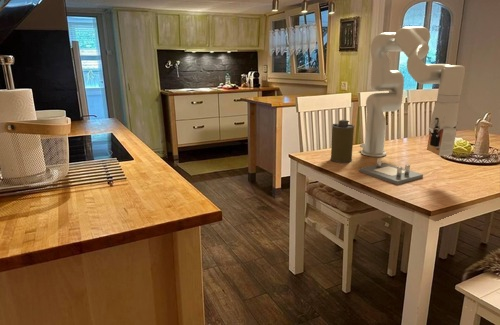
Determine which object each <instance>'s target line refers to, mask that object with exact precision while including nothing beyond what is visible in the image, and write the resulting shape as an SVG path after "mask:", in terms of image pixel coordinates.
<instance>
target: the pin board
mask: <svg viewBox="0 0 500 325" xmlns="http://www.w3.org/2000/svg"><path fill="white" fill-rule="evenodd" d="M397 167H398V166H397V165H393V164H391V163H387V162H381V168H377V163H376V164H372V165H369V166H368V165H367V166H364V167H359V169H358V172H359V173H363V174H365V175H367V176H371V177H373V178H376V179H379V180H382V181H385V182H387V183H390V184H394V185H396V186H398V185H401V184H405V183H409V182H412V181H416V180H420V179H423V178H424V174H423V173H420V172H416V171H413V170H410V171H409V175H405V174H404V173H405V168H403V167H402V173H401V177H397V176H396V175H397Z"/></svg>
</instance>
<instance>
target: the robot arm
mask: <svg viewBox="0 0 500 325" xmlns="http://www.w3.org/2000/svg"><path fill="white" fill-rule="evenodd" d="M430 39H431V32H430V30H429V29H428V28H426V27H424V26H404V27H401V28H399V29H398V30H396V31H395V32H382V33H378V34H376V35H375V36H374V38H373V39H372V41H371V45H370V54H371V72H370V73H371V75H370V86H371V88H372V90H374V91H388V92H375V93H371V94H369V95H368V96H367V98H366V99H365V100H366V101H365V106H366V126H365V137H364V142H362V143H361V144H360V145H359V148H362V150H361V151H360V154H362V155H363V156H365V157H373V158H379V157H380V158H381V157H384V156H385V157H386V156H387V151H385V149H384V148H385V138H386V129H387V118H386V116H385V115H384V113H385V112H388V113H389V112H397V111H398V110H400V108H401V106H402V103H403V95H404V87H405V86H404V85H405V84H404V83H405V79H404V75H403V73H402V72H401V71H399V70H397V69H395V70H393V69H392V70H391V58H390V56H389V55H388V52H389V53H390V52H393V53H394V52H395V53H396V52H397V53H399V52H400V53H401V52H403V53H404V55H405V56H406V57H407V61H406V68H407V70H406V71H407V72H408V74H409V76H410V77H411V78H412V79H413V80H414V82H416V83H418V84H420V85H433V84H435V85H436V84H437V85H438V92H437V96H436V101H435V102H436V103H434V106H433V111H432V114H431V118H430V123H429V134H430V133H431V141H430V145H431V146H435V147H438V146H439V140H440V137H439V135H440V133H441V130H442V129H445V128H451V127H452V128H455V129H457V126H458V124H459V122H458V116H459V105H460V101H461V100H460V99H461V94H462V90H463V85H464V80H465V72H466V68H465V66H464V65H458V64H457V65H456V64H452V65H451V64H448V63H424V61H423V59H424V58H425V57H426V56H427V55H428V53H429V52H430V46H429V41H430ZM437 127H439V128H437ZM436 130H438V132H436Z"/></svg>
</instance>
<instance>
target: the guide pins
mask: <svg viewBox="0 0 500 325" xmlns="http://www.w3.org/2000/svg"><path fill="white" fill-rule="evenodd" d="M376 159H377V160H376V164H377V168H381V163H382V161H383V160H382V158H381V157H380V158H379V157H377V158H376ZM404 167H405V168H404V169H405V173H404V174H405V175H409V171H411V165H410V164H405V166H404ZM402 168H403V167H402V166H399V165H398V166H397V175H396V176H397V177H401V173H402Z"/></svg>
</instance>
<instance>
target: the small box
mask: <svg viewBox="0 0 500 325" xmlns="http://www.w3.org/2000/svg"><path fill="white" fill-rule="evenodd" d="M437 128H439V127H437ZM436 132H438V130H436ZM456 135H457V128H452V127H451V128H445V129H442V130H441V133H440V135H439V137H440V140H439V146H438V147H435V146H431V145H430V141H431V133H430V132H429V135H428V140H427V146H426V150H427V151H429V152H431V153H433V154H435V155H437V156H439V157H441V156H452V155H453V151H454V146H455V140H456Z"/></svg>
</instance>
